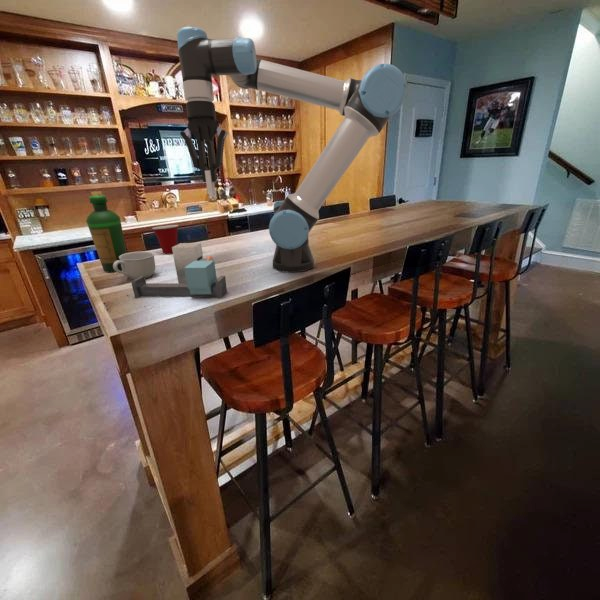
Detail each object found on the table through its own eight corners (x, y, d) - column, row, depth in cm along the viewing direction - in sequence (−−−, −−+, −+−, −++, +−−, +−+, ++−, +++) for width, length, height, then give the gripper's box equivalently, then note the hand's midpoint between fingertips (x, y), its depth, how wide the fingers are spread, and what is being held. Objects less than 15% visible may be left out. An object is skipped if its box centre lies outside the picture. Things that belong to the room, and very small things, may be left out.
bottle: (98, 269, 121) (75, 192, 111) (128, 263, 128) (110, 190, 117) (104, 275, 114) (80, 193, 103) (135, 269, 120) (116, 191, 109)
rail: (227, 291, 95) (225, 275, 93) (221, 298, 90) (219, 281, 88) (144, 291, 97) (140, 276, 95) (135, 297, 93) (131, 281, 91)
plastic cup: (178, 248, 150) (173, 222, 145) (186, 252, 142) (181, 225, 137) (154, 252, 144) (148, 225, 139) (161, 257, 136) (155, 228, 131)
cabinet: (206, 278, 107) (201, 242, 103) (199, 284, 102) (193, 247, 97) (186, 278, 108) (180, 243, 103) (178, 284, 103) (171, 247, 98)
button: (214, 268, 105) (212, 254, 103) (209, 272, 101) (207, 258, 99) (197, 268, 105) (195, 255, 104) (192, 272, 101) (189, 258, 100)
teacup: (149, 270, 118) (144, 249, 115) (164, 275, 112) (159, 253, 109) (109, 280, 109) (103, 257, 105) (123, 286, 102) (117, 262, 99)
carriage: (217, 286, 96) (214, 260, 92) (209, 295, 89) (205, 267, 86) (198, 286, 96) (194, 260, 93) (189, 295, 90) (184, 267, 87)
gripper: (227, 103, 89) (236, 192, 98) (182, 105, 90) (195, 193, 99) (219, 98, 82) (229, 194, 91) (170, 100, 83) (185, 195, 92)
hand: (211, 193), depth 95 cm, fingers closed
